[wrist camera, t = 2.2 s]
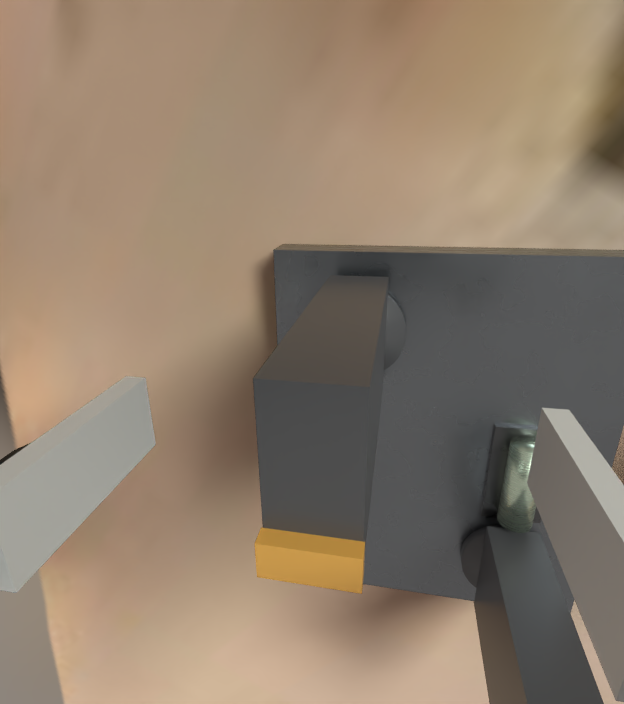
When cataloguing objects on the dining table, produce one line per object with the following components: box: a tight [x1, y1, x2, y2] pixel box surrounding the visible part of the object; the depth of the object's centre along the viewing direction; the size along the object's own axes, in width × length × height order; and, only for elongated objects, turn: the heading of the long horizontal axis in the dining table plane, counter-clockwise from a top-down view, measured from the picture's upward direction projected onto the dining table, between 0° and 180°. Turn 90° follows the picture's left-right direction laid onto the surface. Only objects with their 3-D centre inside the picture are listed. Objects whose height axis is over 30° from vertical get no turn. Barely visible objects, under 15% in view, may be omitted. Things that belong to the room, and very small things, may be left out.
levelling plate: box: [273, 244, 624, 613], centre depth 25 cm, size 22×18×4 cm
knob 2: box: [460, 525, 604, 704], centre depth 21 cm, size 6×5×14 cm
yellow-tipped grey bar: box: [253, 275, 406, 594], centre depth 17 cm, size 6×5×14 cm
